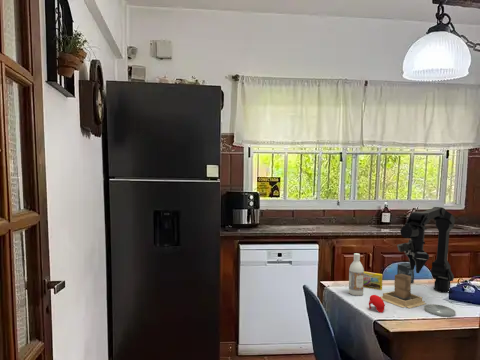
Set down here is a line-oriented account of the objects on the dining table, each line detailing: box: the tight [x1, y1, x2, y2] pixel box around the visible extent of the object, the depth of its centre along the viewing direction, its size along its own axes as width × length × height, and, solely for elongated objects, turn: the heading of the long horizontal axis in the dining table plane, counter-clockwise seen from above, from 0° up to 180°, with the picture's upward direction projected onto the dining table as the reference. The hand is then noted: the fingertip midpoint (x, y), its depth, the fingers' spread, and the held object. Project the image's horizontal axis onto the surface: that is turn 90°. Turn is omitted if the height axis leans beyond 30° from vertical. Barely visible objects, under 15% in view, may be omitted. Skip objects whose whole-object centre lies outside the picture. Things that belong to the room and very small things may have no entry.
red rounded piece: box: [368, 294, 386, 314], centre depth 157 cm, size 8×6×6 cm
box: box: [396, 262, 415, 284], centre depth 198 cm, size 8×6×11 cm
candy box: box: [363, 270, 384, 291], centre depth 189 cm, size 16×2×8 cm, turn 58°
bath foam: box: [348, 252, 365, 297], centre depth 178 cm, size 7×7×20 cm
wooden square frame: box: [379, 290, 427, 309], centre depth 169 cm, size 16×16×2 cm
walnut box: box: [393, 273, 412, 301], centre depth 169 cm, size 5×5×12 cm
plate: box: [423, 303, 457, 318], centre depth 156 cm, size 12×12×1 cm
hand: (414, 271), depth 169 cm, fingers open, 9 cm apart
